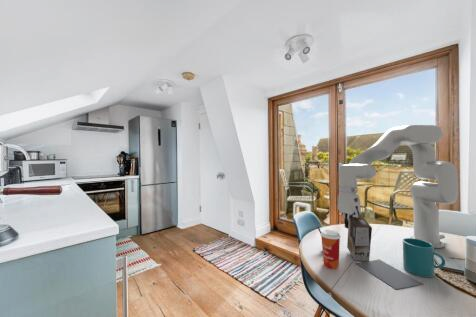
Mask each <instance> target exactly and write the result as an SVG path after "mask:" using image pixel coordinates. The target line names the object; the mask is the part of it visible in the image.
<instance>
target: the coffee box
mask: <svg viewBox="0 0 476 317" xmlns="http://www.w3.org/2000/svg"><path fill="white" fill-rule="evenodd" d="M372 232H373V227H372V226H371V225H370V223H368V221H367V220H366V219H365V218H364V217H361V216H358V218H354V217H349V221H348V229H347V246H346V247H347V248H346V249H347V250H348V252H349V253H350V255H351V257H352V258H353V261H360V262H366V261H370V253H371V241H372Z"/></svg>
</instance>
